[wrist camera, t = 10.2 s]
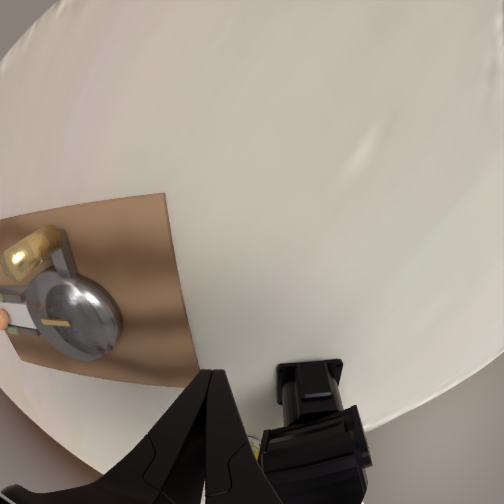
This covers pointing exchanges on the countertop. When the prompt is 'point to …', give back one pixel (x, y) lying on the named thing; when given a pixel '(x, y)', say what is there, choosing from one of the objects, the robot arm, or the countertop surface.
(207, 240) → the countertop surface
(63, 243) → the wheel
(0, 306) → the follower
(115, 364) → the wooden base board
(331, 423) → the robot arm
